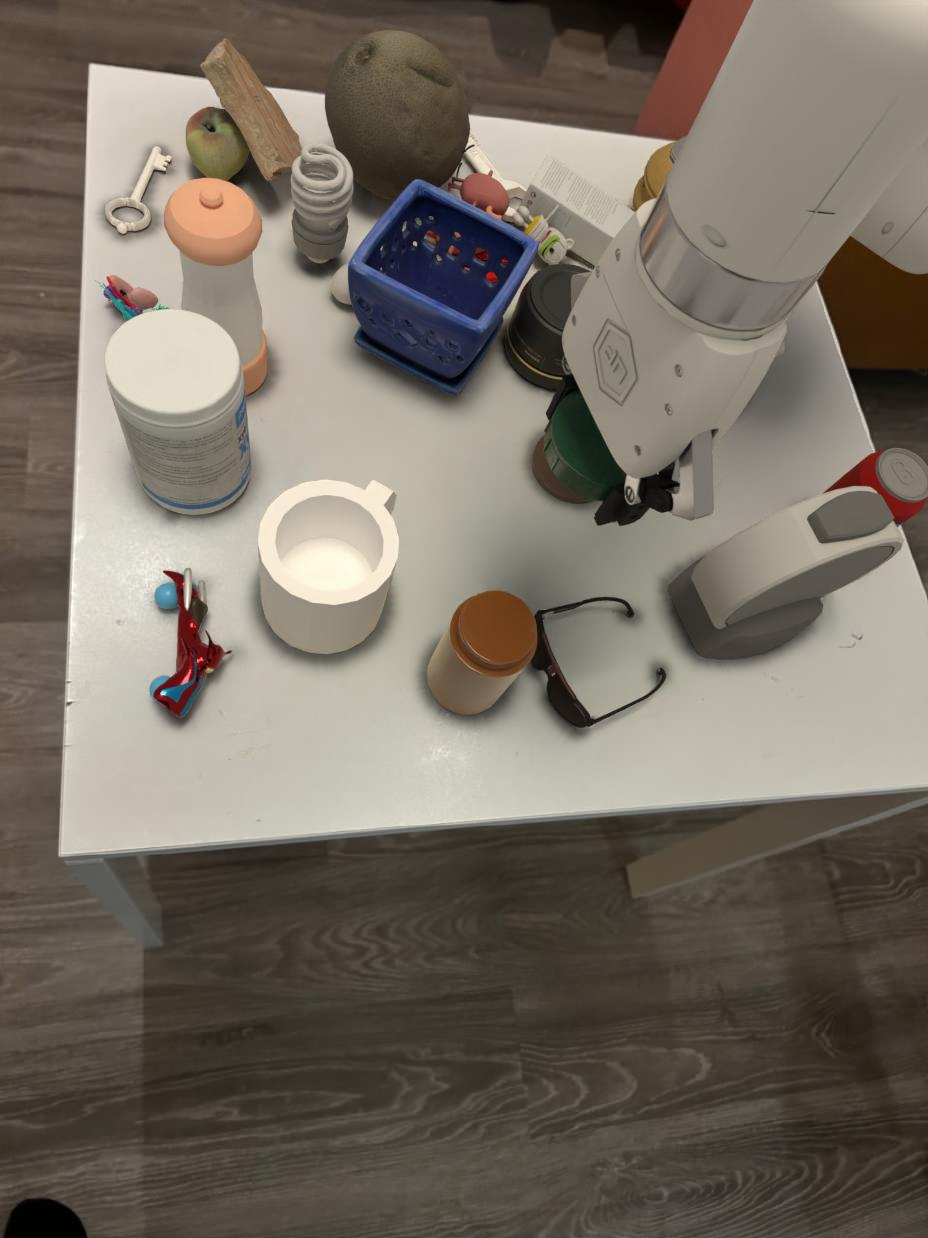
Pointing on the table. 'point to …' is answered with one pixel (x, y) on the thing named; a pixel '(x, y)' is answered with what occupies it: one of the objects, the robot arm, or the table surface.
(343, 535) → the mug
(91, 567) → the table surface
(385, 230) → the flower pot
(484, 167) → the wrench
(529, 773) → the table surface
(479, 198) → the figurine
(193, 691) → the hoverbike
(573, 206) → the cosmetic box
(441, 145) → the cantaloupe
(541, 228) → the toy
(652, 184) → the pot
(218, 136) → the apple
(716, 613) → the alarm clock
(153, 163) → the key
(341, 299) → the egg
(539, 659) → the sunglasses
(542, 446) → the coaster
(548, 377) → the jar
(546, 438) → the lid
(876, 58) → the robot arm
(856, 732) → the table surface
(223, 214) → the salt shaker
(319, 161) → the light bulb
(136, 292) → the anatomy model
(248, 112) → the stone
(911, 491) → the beverage can
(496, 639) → the jam jar
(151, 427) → the supplement tub
